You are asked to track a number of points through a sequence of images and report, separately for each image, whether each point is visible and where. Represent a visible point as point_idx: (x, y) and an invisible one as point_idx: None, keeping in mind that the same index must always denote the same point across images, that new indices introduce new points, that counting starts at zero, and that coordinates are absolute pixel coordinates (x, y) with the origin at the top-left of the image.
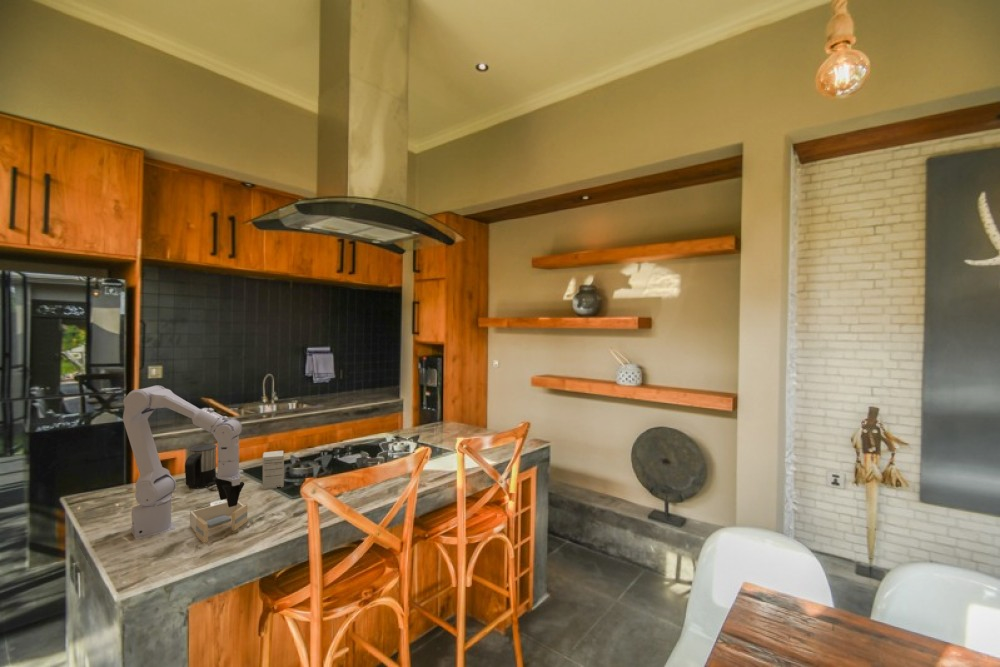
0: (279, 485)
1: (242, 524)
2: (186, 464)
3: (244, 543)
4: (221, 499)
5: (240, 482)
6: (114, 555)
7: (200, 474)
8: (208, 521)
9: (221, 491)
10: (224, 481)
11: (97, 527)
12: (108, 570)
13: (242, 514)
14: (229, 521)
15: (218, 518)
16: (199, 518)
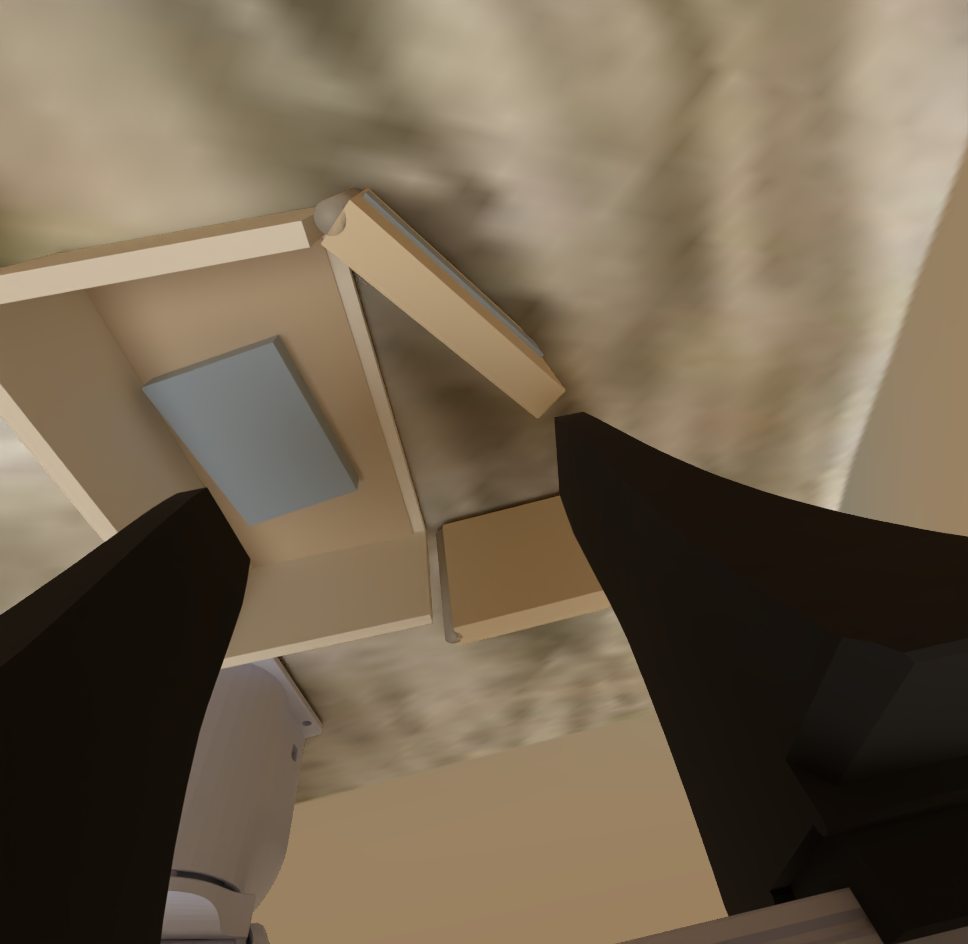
0: None
1: (435, 250)
2: None
3: (774, 284)
4: (245, 563)
5: (922, 712)
6: (433, 747)
7: None
8: (260, 500)
9: (199, 667)
10: (56, 865)
11: None
12: (555, 735)
13: (443, 270)
14: (288, 348)
15: (224, 437)
16: (480, 630)
